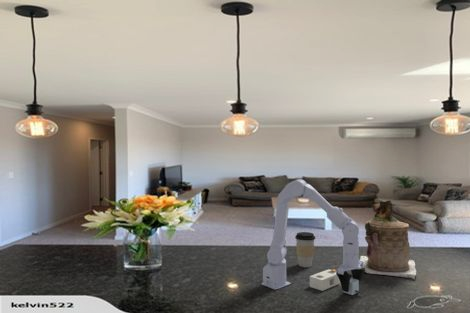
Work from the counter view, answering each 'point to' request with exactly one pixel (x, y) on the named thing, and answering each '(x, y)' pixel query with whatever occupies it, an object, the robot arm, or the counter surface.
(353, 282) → the charger
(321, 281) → the power strip
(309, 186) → the robot arm
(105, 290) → the counter surface
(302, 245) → the coffee cup
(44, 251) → the counter surface
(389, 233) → the cookie jar
